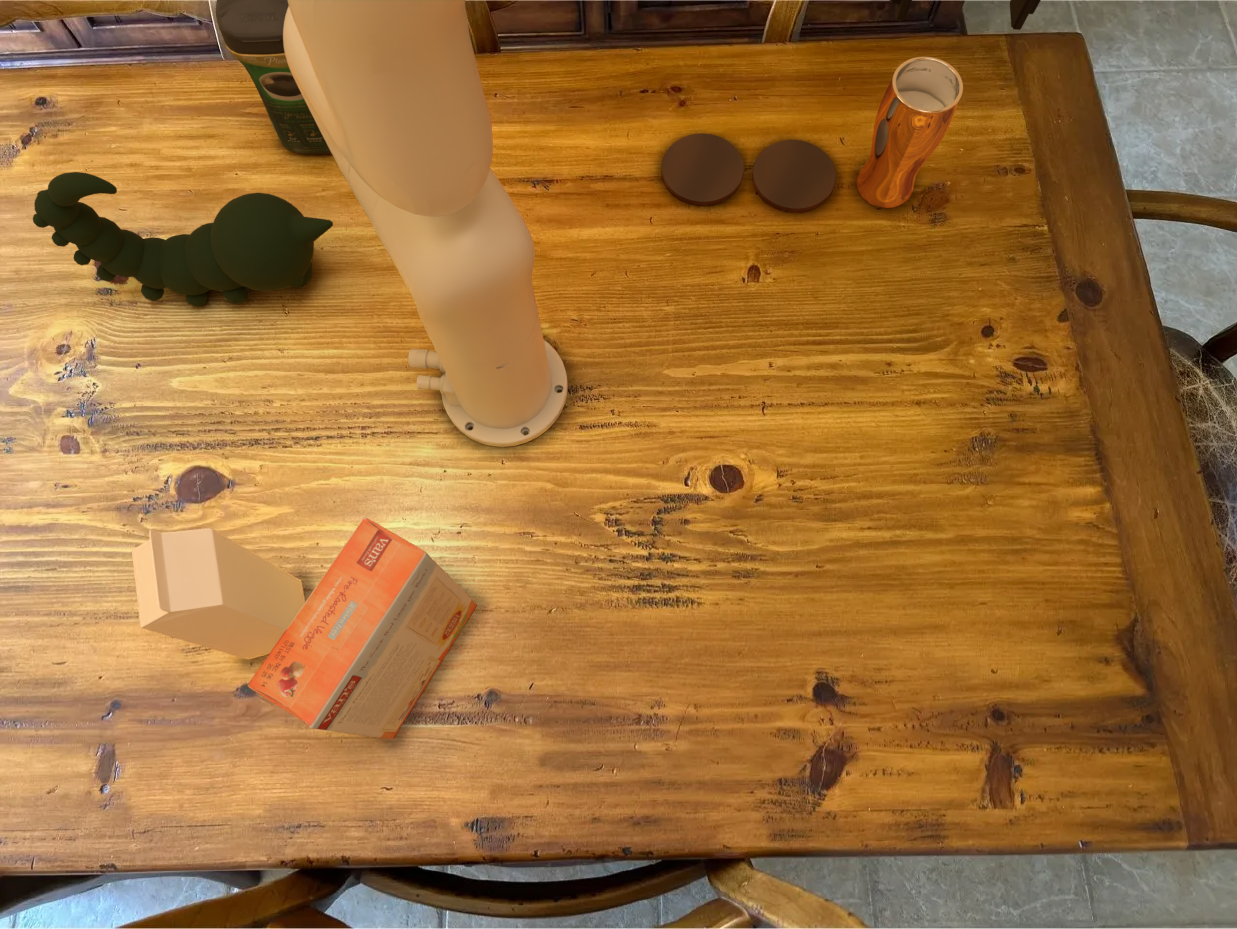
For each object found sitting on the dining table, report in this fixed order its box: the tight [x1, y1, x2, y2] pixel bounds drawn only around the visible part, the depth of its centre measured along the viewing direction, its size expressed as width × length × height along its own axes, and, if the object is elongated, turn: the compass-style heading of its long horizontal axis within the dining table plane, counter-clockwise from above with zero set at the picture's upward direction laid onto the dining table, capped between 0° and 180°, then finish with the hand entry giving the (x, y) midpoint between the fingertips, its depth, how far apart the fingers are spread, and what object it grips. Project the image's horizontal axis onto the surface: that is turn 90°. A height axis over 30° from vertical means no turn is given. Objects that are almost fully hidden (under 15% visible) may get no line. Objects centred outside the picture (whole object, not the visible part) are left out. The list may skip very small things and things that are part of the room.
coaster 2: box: [751, 139, 837, 214], centre depth 97 cm, size 9×9×1 cm
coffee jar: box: [215, 0, 332, 155], centre depth 91 cm, size 10×8×19 cm
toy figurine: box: [32, 171, 334, 308], centre depth 85 cm, size 9×19×25 cm
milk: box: [131, 527, 306, 661], centre depth 71 cm, size 6×6×22 cm
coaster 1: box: [661, 132, 745, 207], centre depth 97 cm, size 9×9×1 cm
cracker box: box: [247, 516, 478, 740], centre depth 71 cm, size 14×6×21 cm, turn 150°
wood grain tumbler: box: [856, 56, 964, 209], centre depth 89 cm, size 7×7×15 cm
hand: (956, 12), depth 75 cm, fingers open, 9 cm apart
